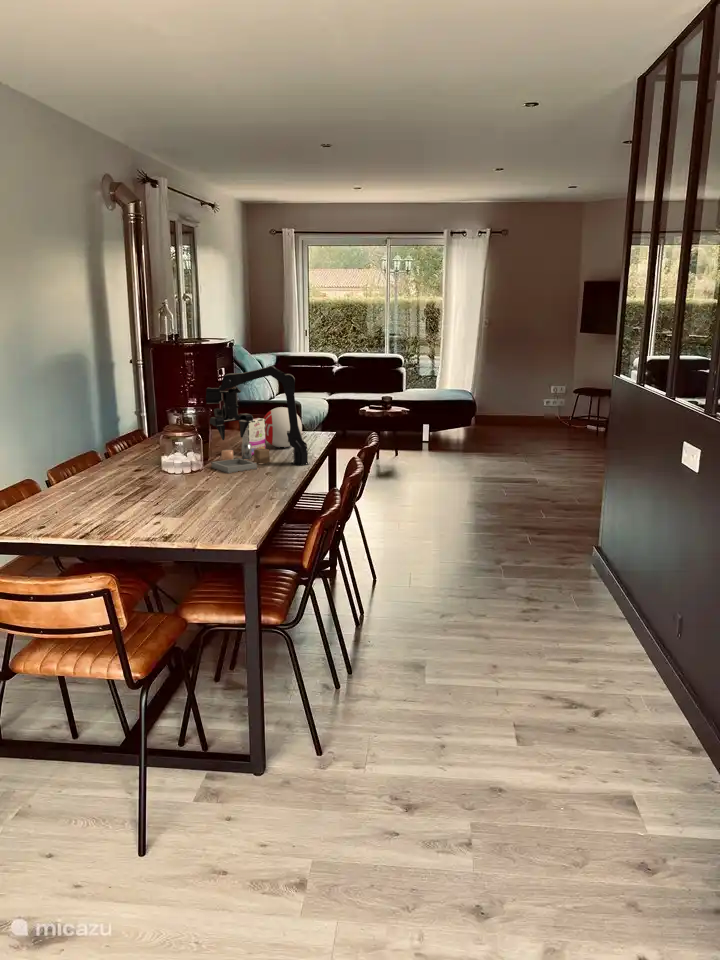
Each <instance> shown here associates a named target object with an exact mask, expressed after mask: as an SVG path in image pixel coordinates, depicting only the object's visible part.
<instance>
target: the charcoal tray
mask: <svg viewBox="0 0 720 960" xmlns="http://www.w3.org/2000/svg"><path fill="white" fill-rule="evenodd" d="M211 468H212V469H215V470H217V471H220V470H221V471H220V472H224V473H225V474H226V473H227V474H233V473H232V472H234V473H239V472H238V471H241V472H245V471H244V470H247V471H251V470H250V469H254V470H257V469H258V465H257V463H254V461H250V460H244V459H242V457H241V458H234V459H230V460H223V461H222V460H217V461H216V460H215V461H211Z"/></svg>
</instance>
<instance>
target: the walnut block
mask: <svg viewBox="0 0 720 960" xmlns="http://www.w3.org/2000/svg"><path fill="white" fill-rule="evenodd" d="M253 462H257V463H266V464H268V463H267V462H270V449H267V448H266V449H264V448H261V449H254V455H253Z"/></svg>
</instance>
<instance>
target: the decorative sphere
mask: <svg viewBox="0 0 720 960" xmlns="http://www.w3.org/2000/svg"><path fill="white" fill-rule="evenodd" d="M263 419H265V438H266V443H268V444H269V445H271V446H274V447H276V448H280V447H284V448H288V447H292V446H291V445H290V443H289V442H288V436H287V431H290V423H289V415H288V407H285V406H284V407H283V406H280V407H279V406H278V407H275V408H273V409H271V410H269V411H268V412H267V413H266V414H265V415H264V416H263ZM297 421H298V427H299V429H300V432H301V433H302V431H303V424H302V420H301V417H300V416H299V415H298V414H297Z"/></svg>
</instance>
